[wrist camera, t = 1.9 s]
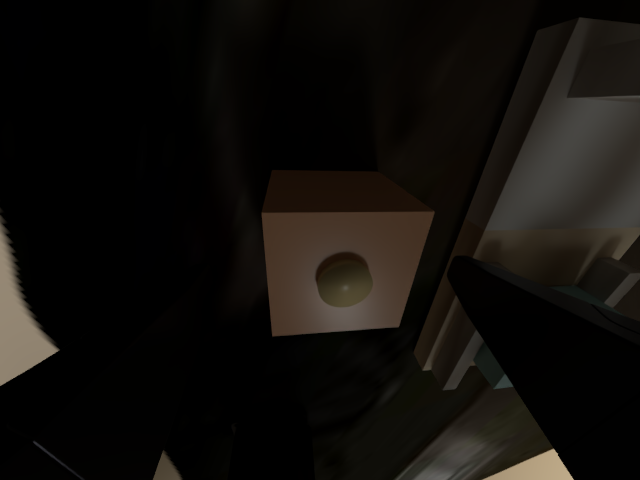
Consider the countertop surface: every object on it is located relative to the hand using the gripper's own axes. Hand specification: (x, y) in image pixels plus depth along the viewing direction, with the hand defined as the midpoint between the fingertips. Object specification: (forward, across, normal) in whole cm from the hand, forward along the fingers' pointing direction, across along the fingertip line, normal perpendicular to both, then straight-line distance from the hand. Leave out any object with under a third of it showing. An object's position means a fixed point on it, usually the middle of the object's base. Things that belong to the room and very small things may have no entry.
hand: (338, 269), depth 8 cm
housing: (+4, 0, 0) cm, 4 cm away
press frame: (+4, -13, +2) cm, 14 cm away
